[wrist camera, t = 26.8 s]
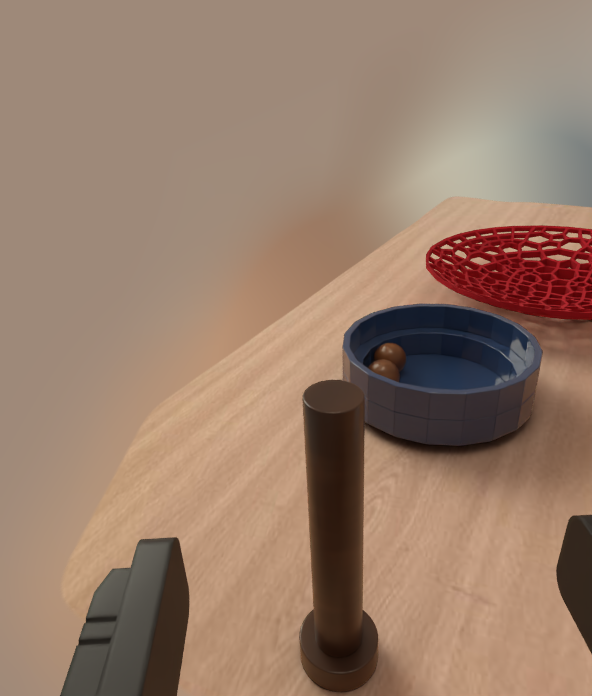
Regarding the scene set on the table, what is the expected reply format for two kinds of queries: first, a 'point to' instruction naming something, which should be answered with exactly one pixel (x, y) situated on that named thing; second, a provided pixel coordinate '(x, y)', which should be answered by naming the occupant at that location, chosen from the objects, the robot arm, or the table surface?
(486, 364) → the blue bowl
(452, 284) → the bowl
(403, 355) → the hazelnut
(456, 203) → the table surface
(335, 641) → the capped post on base
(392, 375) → the hazelnut
